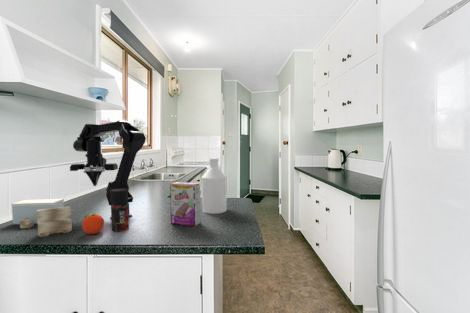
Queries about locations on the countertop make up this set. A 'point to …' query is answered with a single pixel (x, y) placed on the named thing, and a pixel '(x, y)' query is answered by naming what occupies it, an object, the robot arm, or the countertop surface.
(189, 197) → the candy bar box
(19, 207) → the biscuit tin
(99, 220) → the clementine
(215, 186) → the bottle
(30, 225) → the left marker cube
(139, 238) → the countertop surface
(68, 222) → the beige layered block
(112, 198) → the deodorant
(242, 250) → the countertop surface
